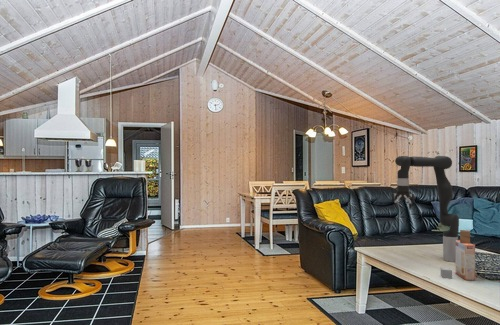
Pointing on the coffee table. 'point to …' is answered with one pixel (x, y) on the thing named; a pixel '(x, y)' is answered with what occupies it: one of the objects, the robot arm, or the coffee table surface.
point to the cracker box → (465, 260)
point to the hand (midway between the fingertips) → (403, 208)
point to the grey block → (446, 273)
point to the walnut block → (464, 236)
